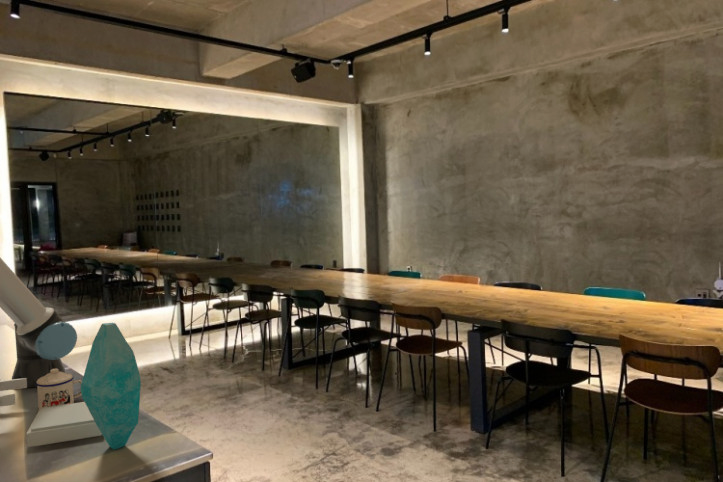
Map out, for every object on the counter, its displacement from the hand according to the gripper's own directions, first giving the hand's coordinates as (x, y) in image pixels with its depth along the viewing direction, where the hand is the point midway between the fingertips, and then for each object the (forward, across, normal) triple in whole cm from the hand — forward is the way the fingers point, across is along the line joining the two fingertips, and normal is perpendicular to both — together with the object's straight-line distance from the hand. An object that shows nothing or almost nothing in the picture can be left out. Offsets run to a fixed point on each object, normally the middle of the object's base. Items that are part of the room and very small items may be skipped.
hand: (21, 390), depth 143 cm
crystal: (+26, +33, -7) cm, 42 cm away
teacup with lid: (+10, 0, -7) cm, 12 cm away
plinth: (+14, +16, -7) cm, 22 cm away
